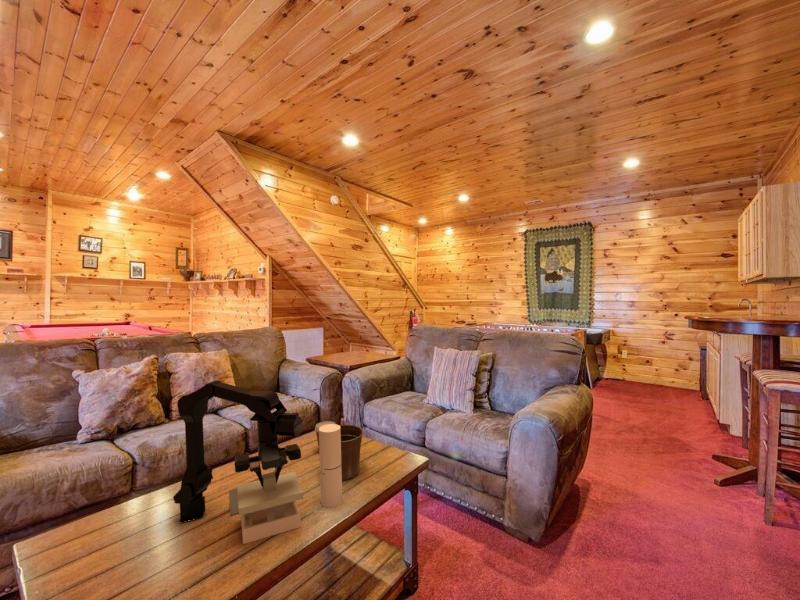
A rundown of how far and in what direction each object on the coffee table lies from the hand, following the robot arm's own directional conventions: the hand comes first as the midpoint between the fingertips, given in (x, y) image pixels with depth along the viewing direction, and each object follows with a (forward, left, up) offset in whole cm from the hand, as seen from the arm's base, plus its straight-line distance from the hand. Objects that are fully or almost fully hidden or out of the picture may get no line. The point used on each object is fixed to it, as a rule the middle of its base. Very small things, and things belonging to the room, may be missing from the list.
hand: (269, 484), depth 112 cm
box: (0, 0, -12) cm, 12 cm away
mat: (0, +18, -12) cm, 22 cm away
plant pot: (+29, +19, -12) cm, 37 cm away
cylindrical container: (+20, +3, -12) cm, 24 cm away
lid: (0, 0, -3) cm, 3 cm away
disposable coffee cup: (+28, +41, -12) cm, 51 cm away
